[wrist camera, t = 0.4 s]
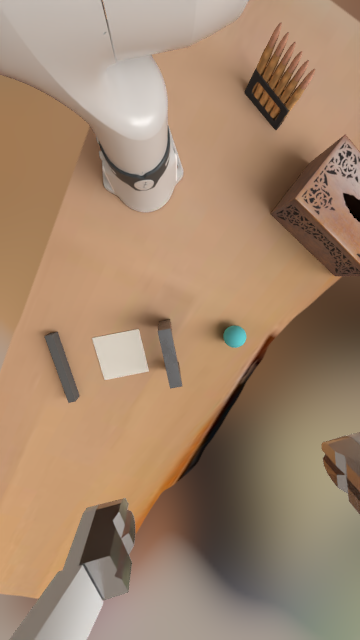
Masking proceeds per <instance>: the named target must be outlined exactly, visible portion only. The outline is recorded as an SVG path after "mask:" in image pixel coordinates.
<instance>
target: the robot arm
mask: <svg viewBox="0 0 360 640" xmlns="http://www.w3.org/2000/svg"><path fill="white" fill-rule="evenodd" d="M248 1H249V0H103V2H104V6H105V11H106V15H107V19H106V15H105V11H104V6H103V2H102V0H0V75H3V76H7V77H9V78H13V79H15V80H18V81H20V82H23V83H26V84H28V85H30V86H32V87H34V88H36V89H38V90H40V91H42V92H44V93H46V94H48V95H49V96H51V97H53V98H55V99H56V100H58V101H59V102H61V103H62V104H64V105H65V106H67V107H68V108H70V109H71V110H73V111H74V112H75V113H77V114H78V115H79V116H80V117H82V118H83V119H84V120H85V121H86V122H87V123H88V124H89V125H90V127H91V128H92V130H93V132H94V133H95V135H96V139H97V142H98V144H99V145H100V148H101V151H99V156H100V159H101V160H102V170H103V184H104V187H105V189H106V190H107V191H109V192H111V193H113V194H115V195H117V196H118V197H119V198H120V199H121V200H122V201H123V202H124V203H125V204H126V205H127V206H128V207H130V208H132V209H134V210H136V211H139V212H152V211H155V210H158V209H159V208H161V207H162V206H164V205H165V204H166V203H167V201H168V200H169V198H170V197H171V195H172V192H173V190H174V187H175V185H176V184H177V183H178V182H179V181H180V180H181V179H182V177H183V168H182V165H181V162H180V159H179V156H178V153H177V150H176V147H175V144H174V141H173V138H172V135H171V132H170V129H169V126H168V97H167V90H166V86H165V82H164V79H163V76H162V74H161V71H160V69H159V67H158V65H157V64H156V62H155V60H154V59H153V57H152V54H157V53H162V52H167V51H172V50H177V49H182V48H187V47H189V46H191V45H193V44H195V43H197V42H199V41H201V40H203V39H205V38H207V37H209V36H211V35H212V34H214V33H216V32H217V31H219V30H221V29H222V28H224V27H226V26H227V25H229V24H231V23H232V22H234V21H236V20H237V19H238V18H239V17H240V15H241V14H242V12H243V10H244V8H245V7H246V5H247V3H248ZM177 166H178V168H177ZM107 179H108V180H107ZM322 450H323V452H324V453H325V456H324V458H323V462H324V466H325V469H326V471H327V473H328V475H329V476H330V478H331V479H332V481H333V482H334V483H335V485H336V486H337V487H338V488H339V489H341V490H343V491H344V492H346V493H348V498H349V502H350V503H351V504H352V505H353V507H354V508H355V509H356V510H357V512H358V513H359V514H360V432H359V433H354V434H351V435H348V436H342V437H339V438H336V439H332V440H329V441H326V442H323V443H322ZM127 509H128V502H127V500H126V498H123V499H119V500H115V501H112V502H108V503H104V504H99V505H96V506H92V507H88V508H86V510H85V511H84V513H83V515H82V518H81V520H80V523H79V526H78V529H77V532H76V534H75V537H74V540H73V543H72V545H71V548H70V551H69V554H68V557H67V559H66V562H65V565H64V568H63V570H62V571H59V572H58V573H57V574H56V576H55V577H54V578H53V580H52V581H51V582H50V584H49V585H48V587H47V588H46V589H45V591H44V592H43V594H42V595H41V596H40V598H39V599H38V601H37V602H36V603H35V605H34V606H33V607H32V609H31V610H30V612H29V613H28V614H27V616H26V617H25V619H24V620H23V621H22V623H21V624H20V626H19V627H18V628H17V630H16V631H15V633H14V634H13V636H12V637H11V638H10V639H9V640H87V638H88V636H89V633H90V631H91V629H92V627H93V624H94V623H95V620H96V618H97V616H98V614H99V612H100V610H101V607H102V605H103V600H106V599H109V598H112V597H115V596H118V595H122V594H125V593H128V590H129V582H130V574H131V566H132V562H131V559H130V557H129V554H130V552H131V550H132V548H133V546H134V541H135V520H134V516H133V514H132V512H131V511H129V510H127Z"/></svg>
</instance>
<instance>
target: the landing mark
mask: <svg viewBox="0 0 360 640" xmlns="http://www.w3.org/2000/svg"><path fill="white" fill-rule="evenodd" d="M92 340H93V343H94V346H95V349H96V353H97V356H98V359H99V363H100V366H101V369H102V373H103V376H104V379H105V380H108V379H113V378H118V377H123V376H128V375H133V374H138V373H143V372H148V371H149V369H148V365H147V361H146V357H145V352H144V348H143V344H142V340H141V336H140V332H139V329H136V330H131V331H126V332H120V333H115V334H110V335H105V336H100V337H95V338H92Z"/></svg>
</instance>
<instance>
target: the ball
mask: <svg viewBox="0 0 360 640" xmlns="http://www.w3.org/2000/svg"><path fill="white" fill-rule="evenodd" d="M223 338H224V341H225V343H226V344H227V345H228V346H230V347H235V348H236V347H240V346H242V345H243V344H244V343H245V341H246V333H245V331H244V330H243V329H242V328H241V327H239V326H230V327H228V328H227V329H226V330H225V332H224V335H223Z"/></svg>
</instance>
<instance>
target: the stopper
mask: <svg viewBox="0 0 360 640" xmlns="http://www.w3.org/2000/svg"><path fill="white" fill-rule="evenodd" d="M45 339H46V342H47V345H48V347H49V350H50V353H51V356H52V359H53V361H54V364H55V367H56V370H57V372H58V375H59V378H60V381H61V383H62V386H63V389H64V392H65V394H66V397H67V400H68V403H70V402H75V401H76V400H77V399H78V397H79V393H78V390H77V387H76V384H75V381H74V378H73V375H72V373H71V370H70V367H69V364H68V361H67V358H66V355H65V352H64V349H63V346H62V343H61V341H60V338H59V335H58V332H54V333H50V334H48V335H46V336H45Z"/></svg>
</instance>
